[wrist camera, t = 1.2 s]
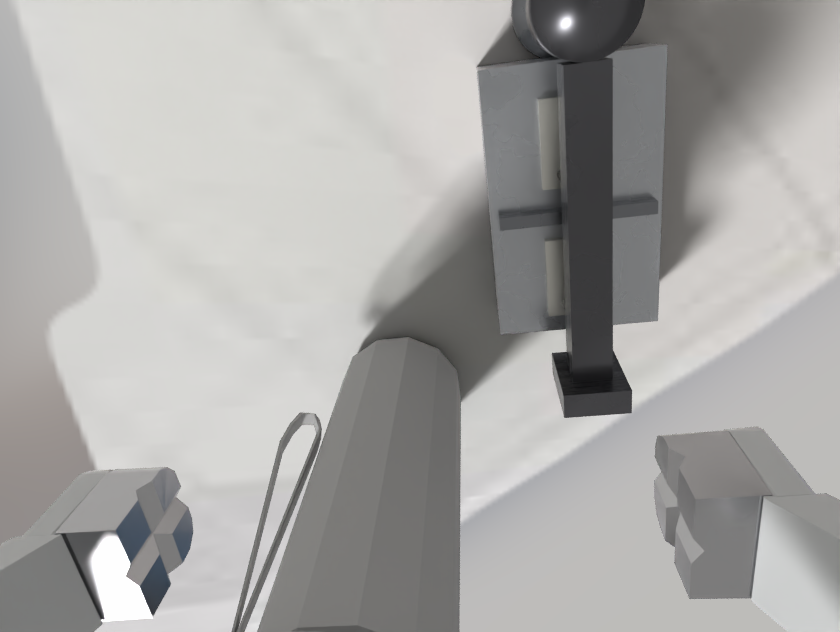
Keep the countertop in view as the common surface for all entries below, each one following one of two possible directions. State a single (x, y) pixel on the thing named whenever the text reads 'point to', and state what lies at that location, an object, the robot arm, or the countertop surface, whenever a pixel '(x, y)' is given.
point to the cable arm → (586, 193)
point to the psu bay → (541, 186)
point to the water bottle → (373, 505)
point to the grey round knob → (525, 29)
